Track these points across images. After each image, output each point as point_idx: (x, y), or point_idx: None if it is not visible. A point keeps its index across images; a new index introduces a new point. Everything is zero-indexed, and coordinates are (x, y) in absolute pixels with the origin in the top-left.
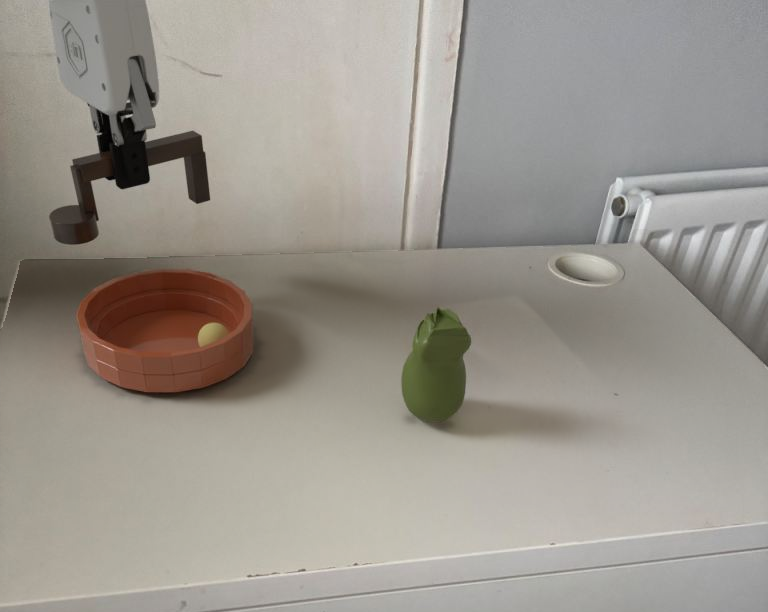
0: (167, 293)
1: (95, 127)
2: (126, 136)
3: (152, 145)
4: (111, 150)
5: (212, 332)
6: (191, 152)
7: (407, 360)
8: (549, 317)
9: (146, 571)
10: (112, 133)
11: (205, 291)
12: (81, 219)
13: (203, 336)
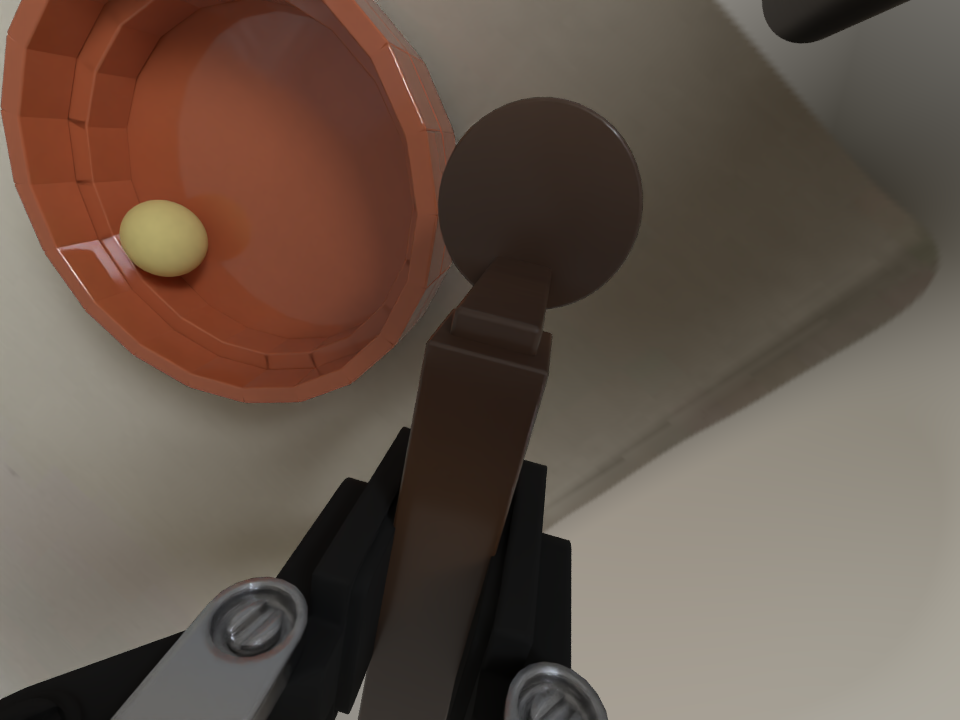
0: (378, 309)
1: (592, 711)
2: (145, 658)
3: (382, 712)
4: (349, 550)
5: (124, 226)
6: None
7: None
8: (49, 628)
9: None
10: (274, 658)
11: (320, 366)
12: (461, 204)
13: (140, 208)
